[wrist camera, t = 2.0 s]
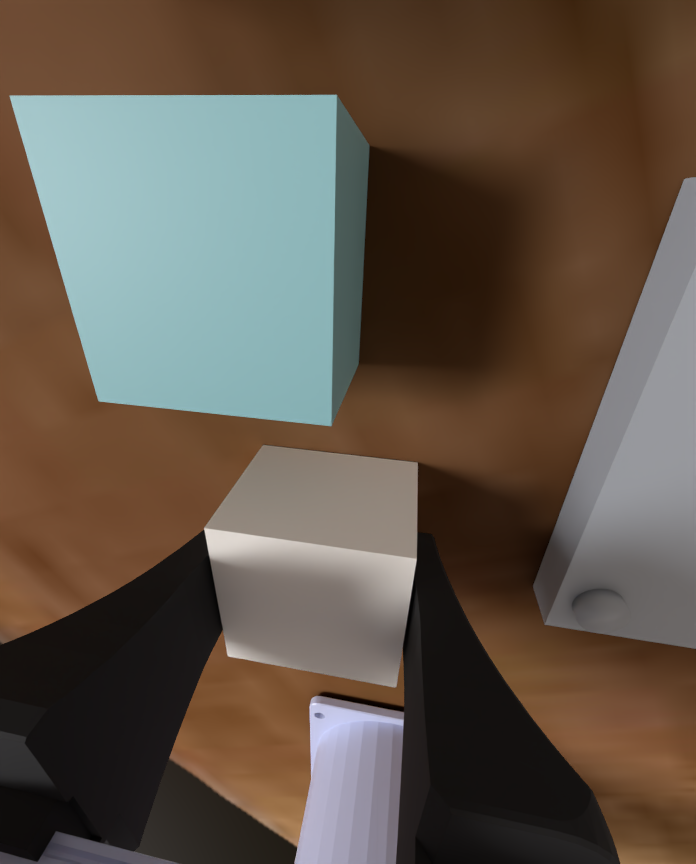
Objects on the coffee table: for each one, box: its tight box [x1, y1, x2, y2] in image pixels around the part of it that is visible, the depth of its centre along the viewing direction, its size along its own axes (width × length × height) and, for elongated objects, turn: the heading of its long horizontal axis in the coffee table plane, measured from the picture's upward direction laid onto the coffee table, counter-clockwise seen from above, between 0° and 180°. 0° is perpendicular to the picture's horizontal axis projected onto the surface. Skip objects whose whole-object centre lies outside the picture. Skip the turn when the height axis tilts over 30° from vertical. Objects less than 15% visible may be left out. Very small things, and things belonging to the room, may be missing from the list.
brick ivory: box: [204, 445, 418, 688], centre depth 12 cm, size 5×5×4 cm
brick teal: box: [10, 95, 369, 426], centre depth 8 cm, size 5×5×4 cm
